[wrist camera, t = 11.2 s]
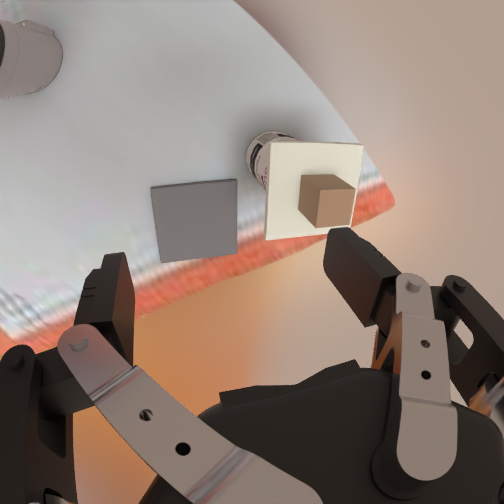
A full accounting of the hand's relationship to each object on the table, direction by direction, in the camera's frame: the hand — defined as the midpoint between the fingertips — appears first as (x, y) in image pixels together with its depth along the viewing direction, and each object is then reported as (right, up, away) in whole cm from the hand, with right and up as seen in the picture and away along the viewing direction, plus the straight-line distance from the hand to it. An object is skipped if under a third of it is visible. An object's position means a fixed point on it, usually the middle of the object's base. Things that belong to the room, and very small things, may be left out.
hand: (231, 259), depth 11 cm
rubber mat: (-8, +5, +36) cm, 37 cm away
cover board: (+8, +7, +21) cm, 24 cm away
